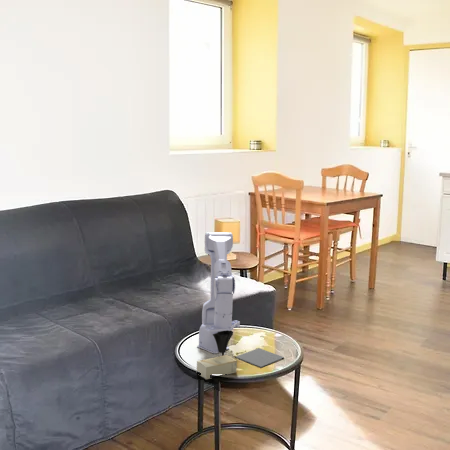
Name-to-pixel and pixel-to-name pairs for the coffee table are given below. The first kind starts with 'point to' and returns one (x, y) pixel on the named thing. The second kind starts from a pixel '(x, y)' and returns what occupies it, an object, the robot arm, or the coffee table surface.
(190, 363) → the coffee table surface
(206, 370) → the skincare box
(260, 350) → the mat
